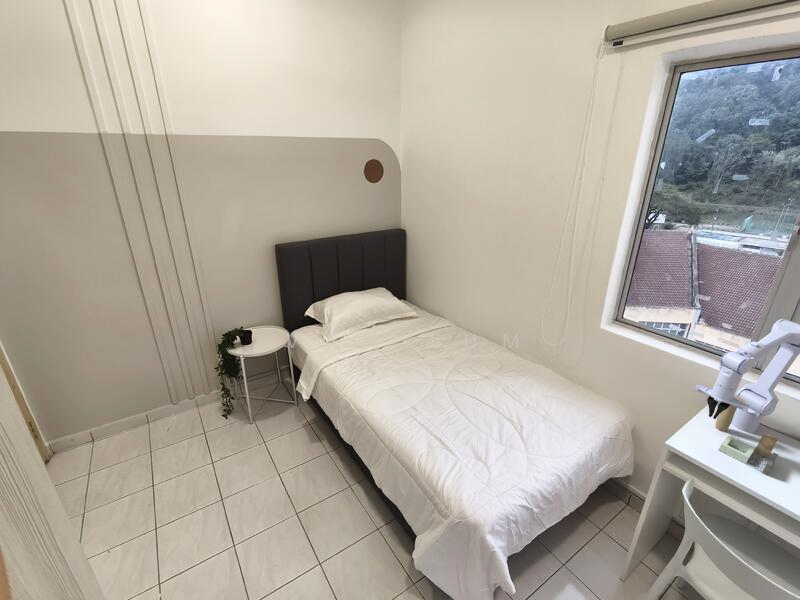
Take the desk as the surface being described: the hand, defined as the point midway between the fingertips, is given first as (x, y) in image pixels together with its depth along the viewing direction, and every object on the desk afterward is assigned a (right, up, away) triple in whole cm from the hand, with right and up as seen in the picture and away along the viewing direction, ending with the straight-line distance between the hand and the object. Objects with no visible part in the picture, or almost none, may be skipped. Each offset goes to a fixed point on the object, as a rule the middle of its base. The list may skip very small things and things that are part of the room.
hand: (712, 416), depth 131 cm
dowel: (+14, -11, -4) cm, 18 cm away
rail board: (+9, -12, -4) cm, 15 cm away
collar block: (+5, -11, -3) cm, 13 cm away
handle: (+9, -8, +8) cm, 14 cm away
